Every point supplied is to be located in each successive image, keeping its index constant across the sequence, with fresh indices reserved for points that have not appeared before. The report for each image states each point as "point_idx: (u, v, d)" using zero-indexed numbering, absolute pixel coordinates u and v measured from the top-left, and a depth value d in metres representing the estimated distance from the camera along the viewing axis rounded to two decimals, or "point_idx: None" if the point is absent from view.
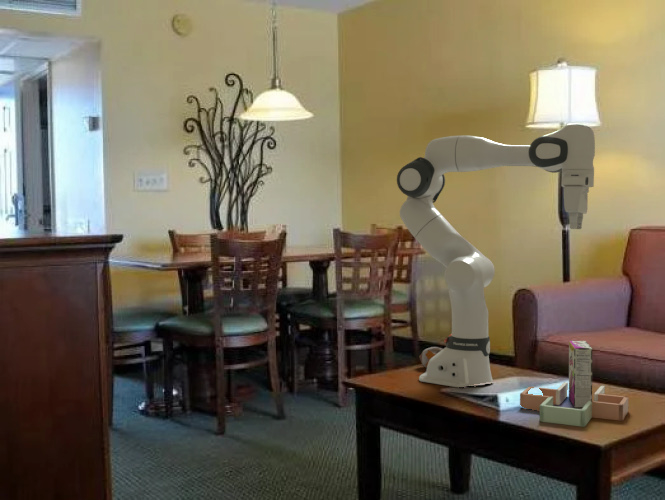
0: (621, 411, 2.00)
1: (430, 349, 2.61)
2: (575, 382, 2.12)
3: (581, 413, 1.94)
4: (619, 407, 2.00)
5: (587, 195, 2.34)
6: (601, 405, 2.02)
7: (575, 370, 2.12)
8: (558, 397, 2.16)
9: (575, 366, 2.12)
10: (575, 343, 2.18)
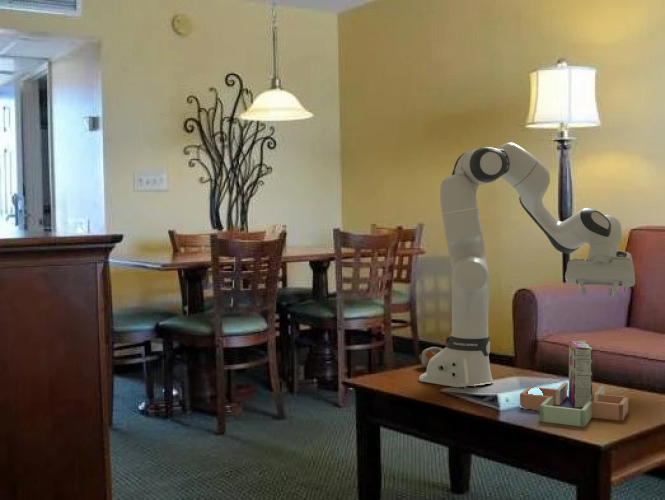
0: (621, 411, 2.00)
1: (430, 349, 2.61)
2: (575, 382, 2.12)
3: (581, 413, 1.94)
4: (619, 407, 2.00)
5: None
6: (601, 405, 2.02)
7: (575, 370, 2.12)
8: (558, 397, 2.16)
9: (575, 366, 2.12)
10: (575, 343, 2.18)
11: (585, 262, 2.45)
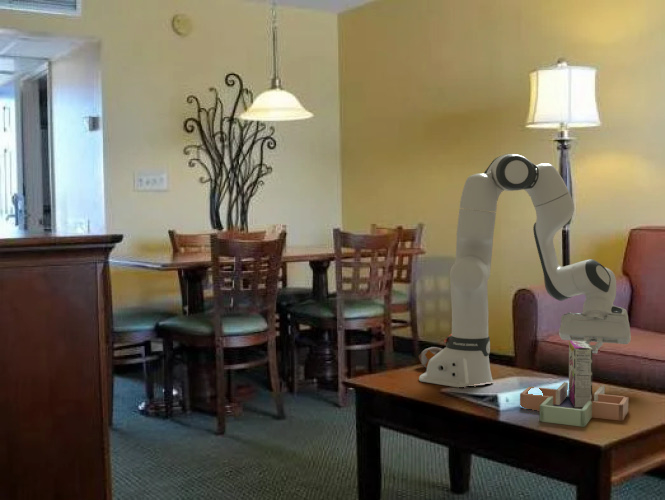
0: (621, 411, 2.00)
1: (430, 349, 2.61)
2: (575, 382, 2.12)
3: (581, 413, 1.94)
4: (619, 407, 2.00)
5: None
6: (601, 405, 2.02)
7: (575, 370, 2.12)
8: (558, 397, 2.16)
9: (575, 366, 2.12)
10: (575, 343, 2.18)
11: (579, 317, 2.39)
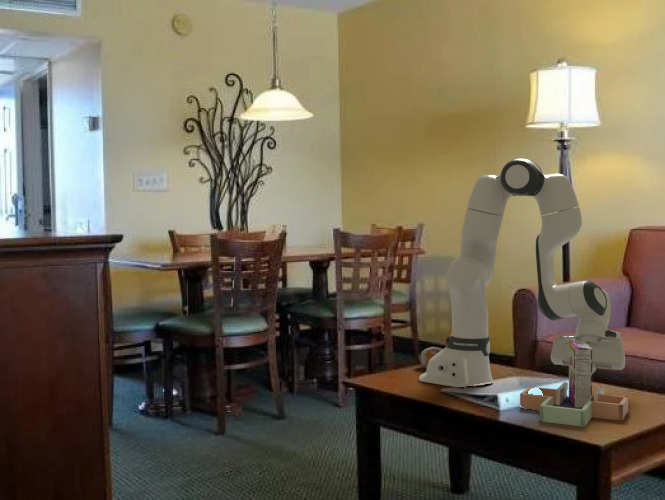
0: (621, 411, 2.00)
1: (429, 349, 2.61)
2: (575, 382, 2.12)
3: (581, 413, 1.94)
4: (619, 407, 2.00)
5: None
6: (601, 405, 2.02)
7: (575, 370, 2.12)
8: (558, 397, 2.16)
9: (575, 366, 2.11)
10: (575, 343, 2.17)
11: None
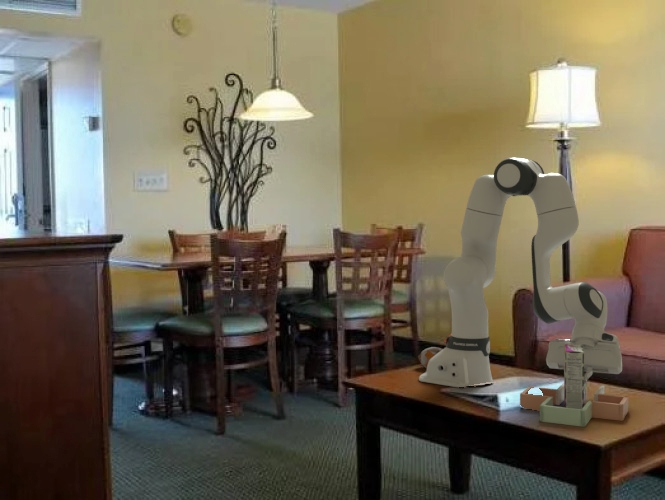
0: (621, 411, 2.00)
1: (429, 349, 2.61)
2: (566, 387, 2.07)
3: (581, 413, 1.94)
4: (619, 407, 2.00)
5: None
6: (601, 405, 2.02)
7: (566, 374, 2.07)
8: (558, 397, 2.16)
9: (566, 370, 2.07)
10: (569, 346, 2.12)
11: None
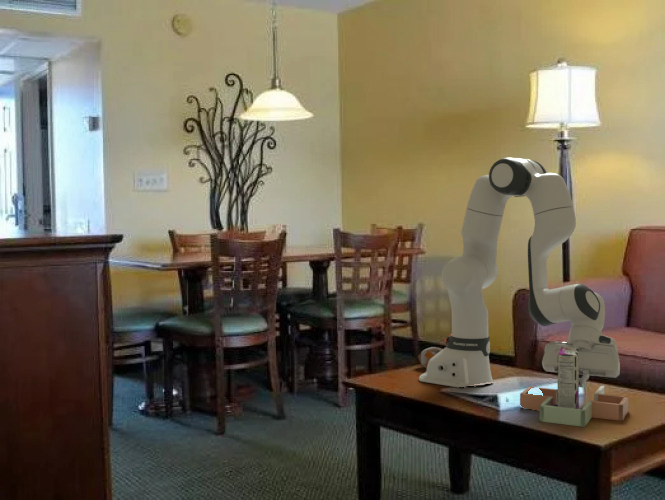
0: (621, 411, 2.00)
1: (429, 349, 2.61)
2: (558, 390, 2.03)
3: (581, 413, 1.94)
4: (619, 407, 2.00)
5: None
6: (601, 405, 2.02)
7: (558, 377, 2.03)
8: None
9: (558, 373, 2.03)
10: (564, 349, 2.08)
11: None
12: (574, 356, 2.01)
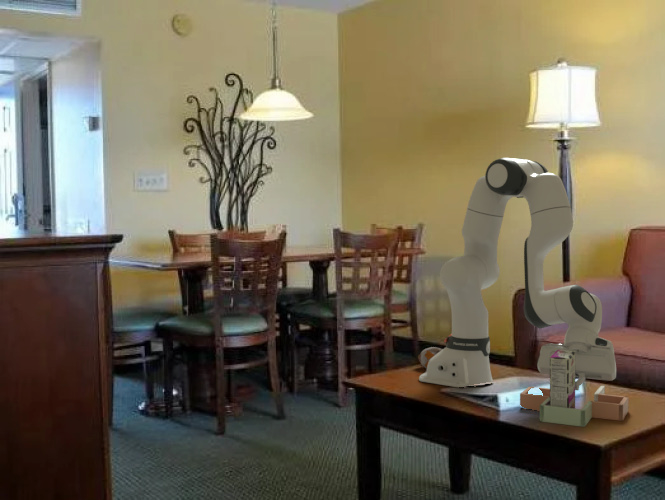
0: (621, 411, 2.00)
1: (429, 349, 2.61)
2: (550, 393, 1.99)
3: (581, 413, 1.94)
4: (619, 407, 2.00)
5: None
6: (601, 405, 2.02)
7: (550, 380, 1.99)
8: None
9: (550, 376, 1.99)
10: (558, 352, 2.04)
11: (560, 349, 2.16)
12: (566, 359, 1.97)
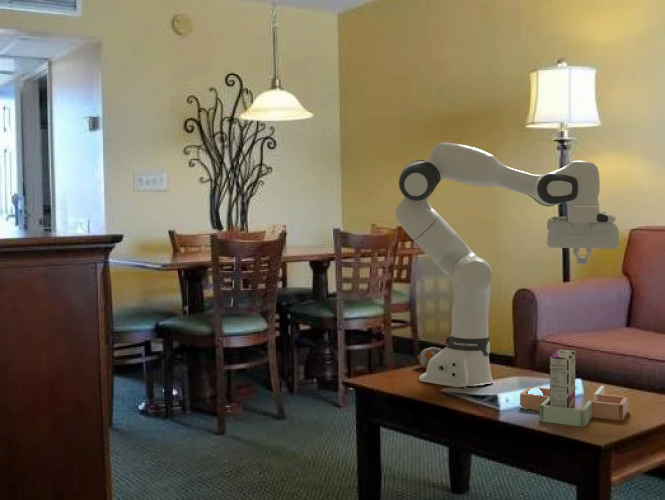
0: (621, 411, 2.00)
1: (429, 349, 2.61)
2: (550, 394, 1.99)
3: (581, 413, 1.94)
4: (619, 407, 2.00)
5: None
6: (601, 405, 2.02)
7: (550, 380, 1.99)
8: None
9: (550, 376, 1.99)
10: (558, 352, 2.04)
11: (565, 226, 2.32)
12: (566, 359, 1.97)
